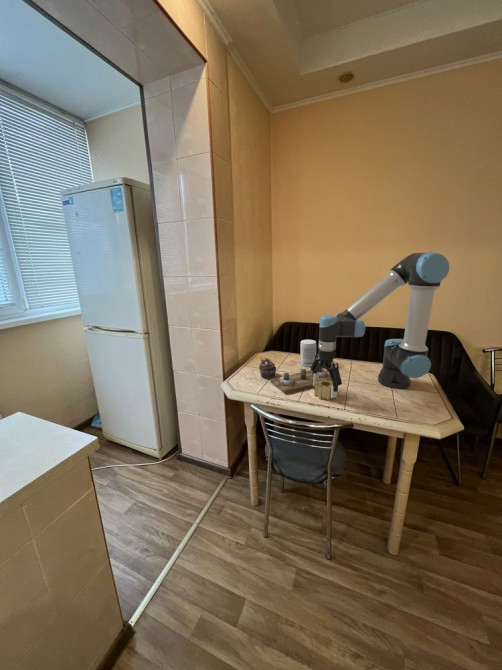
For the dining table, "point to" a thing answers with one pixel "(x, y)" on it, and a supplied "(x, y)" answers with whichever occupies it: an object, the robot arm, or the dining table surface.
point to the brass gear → (323, 389)
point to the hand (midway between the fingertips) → (324, 390)
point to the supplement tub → (307, 352)
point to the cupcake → (267, 369)
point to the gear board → (298, 380)
